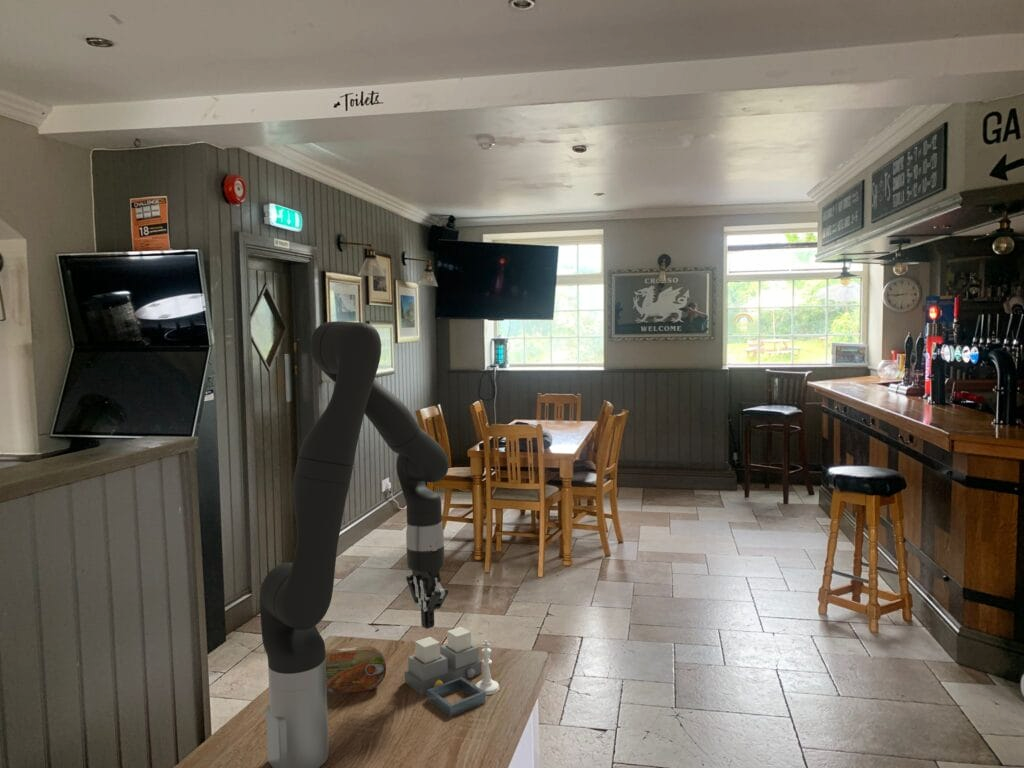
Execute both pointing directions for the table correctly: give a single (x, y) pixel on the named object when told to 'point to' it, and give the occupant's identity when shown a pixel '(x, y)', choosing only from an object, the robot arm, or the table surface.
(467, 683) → the frame
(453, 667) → the yellow-knobbed grey box
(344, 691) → the tin
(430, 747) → the table surface
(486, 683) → the chess piece
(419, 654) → the white square block
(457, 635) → the breaker
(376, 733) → the table surface
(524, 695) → the table surface
